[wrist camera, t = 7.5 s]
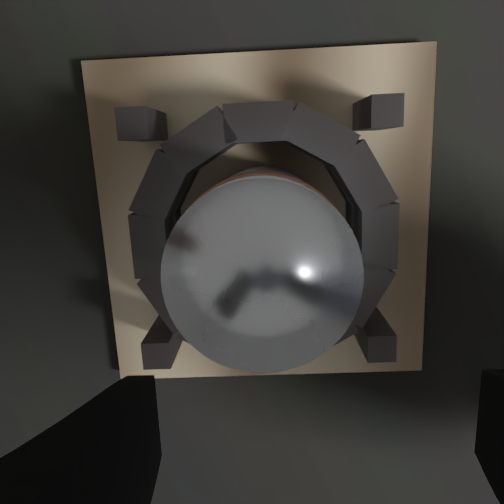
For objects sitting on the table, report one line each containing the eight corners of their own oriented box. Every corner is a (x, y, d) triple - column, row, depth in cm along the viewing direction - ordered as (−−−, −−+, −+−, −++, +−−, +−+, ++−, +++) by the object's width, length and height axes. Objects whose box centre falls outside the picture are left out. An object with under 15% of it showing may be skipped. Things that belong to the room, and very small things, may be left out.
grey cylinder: (323, 163, 17) (372, 175, 9) (319, 278, 18) (360, 376, 10) (204, 164, 17) (153, 175, 9) (207, 278, 18) (163, 373, 10)
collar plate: (430, 45, 17) (475, 17, 13) (417, 363, 20) (450, 410, 16) (87, 63, 17) (41, 41, 13) (125, 372, 20) (95, 420, 16)
